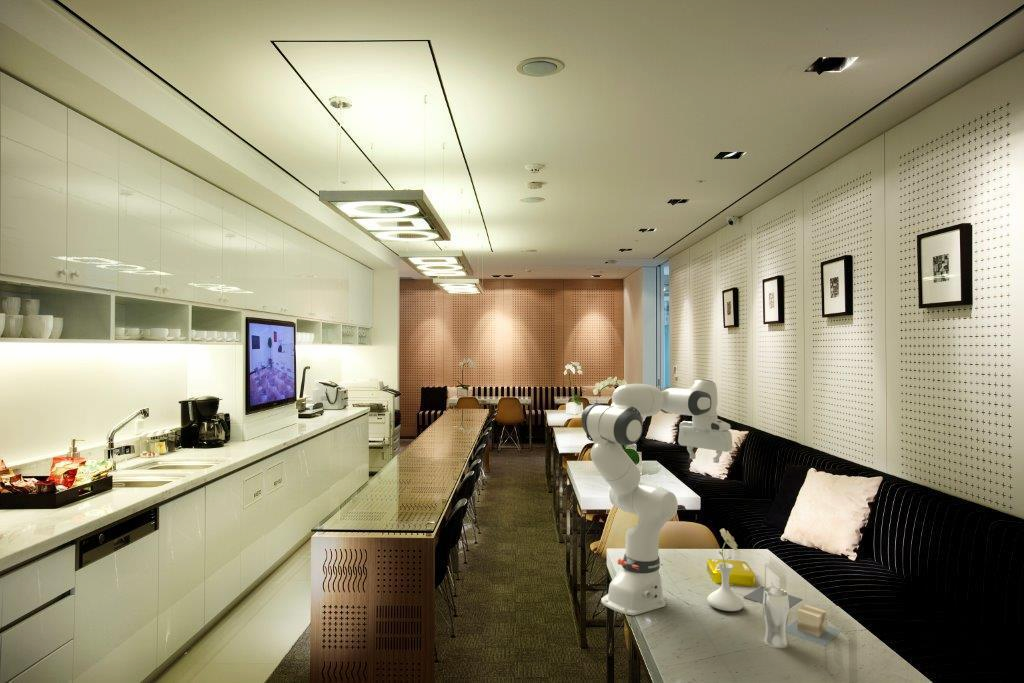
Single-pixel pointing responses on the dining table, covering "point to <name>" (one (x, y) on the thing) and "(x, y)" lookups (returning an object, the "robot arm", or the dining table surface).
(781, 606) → the beer glass
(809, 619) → the light wood cube
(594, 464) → the robot arm
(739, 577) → the element tile
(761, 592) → the pad
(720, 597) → the flower in vase
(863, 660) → the dining table surface
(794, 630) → the grey flat slab
